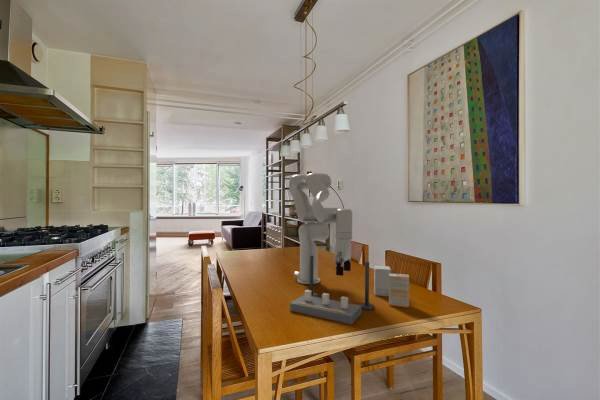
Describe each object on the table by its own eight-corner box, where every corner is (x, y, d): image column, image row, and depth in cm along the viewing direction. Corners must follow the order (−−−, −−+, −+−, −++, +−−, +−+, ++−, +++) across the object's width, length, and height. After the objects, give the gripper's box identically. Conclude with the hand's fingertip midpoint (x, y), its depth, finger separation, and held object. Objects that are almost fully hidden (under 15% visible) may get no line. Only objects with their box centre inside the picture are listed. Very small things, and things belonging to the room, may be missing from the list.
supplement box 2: (408, 304, 127) (409, 274, 127) (409, 308, 123) (409, 277, 123) (388, 302, 130) (389, 272, 130) (388, 305, 126) (388, 275, 126)
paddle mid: (321, 303, 118) (322, 294, 118) (323, 302, 119) (323, 292, 119) (327, 305, 117) (327, 295, 117) (329, 303, 118) (329, 293, 118)
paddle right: (340, 307, 114) (340, 297, 114) (342, 306, 116) (342, 296, 116) (346, 308, 113) (346, 298, 113) (348, 307, 114) (348, 297, 114)
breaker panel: (290, 310, 119) (290, 302, 119) (304, 301, 130) (304, 294, 130) (351, 324, 107) (351, 315, 107) (361, 313, 117) (361, 305, 117)
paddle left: (304, 300, 122) (304, 290, 122) (306, 299, 123) (306, 289, 123) (309, 301, 121) (309, 291, 121) (311, 300, 122) (311, 290, 122)
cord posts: (302, 297, 135) (302, 256, 135) (308, 294, 140) (309, 254, 140) (371, 311, 119) (372, 264, 119) (375, 306, 124) (376, 261, 124)
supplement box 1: (390, 296, 138) (391, 269, 137) (374, 295, 139) (374, 268, 139) (389, 291, 145) (389, 266, 145) (373, 290, 146) (374, 265, 146)
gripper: (342, 233, 144) (342, 268, 144) (328, 237, 129) (328, 276, 129) (357, 234, 141) (357, 270, 141) (345, 238, 126) (344, 278, 126)
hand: (343, 272), depth 135 cm, fingers open, 9 cm apart
